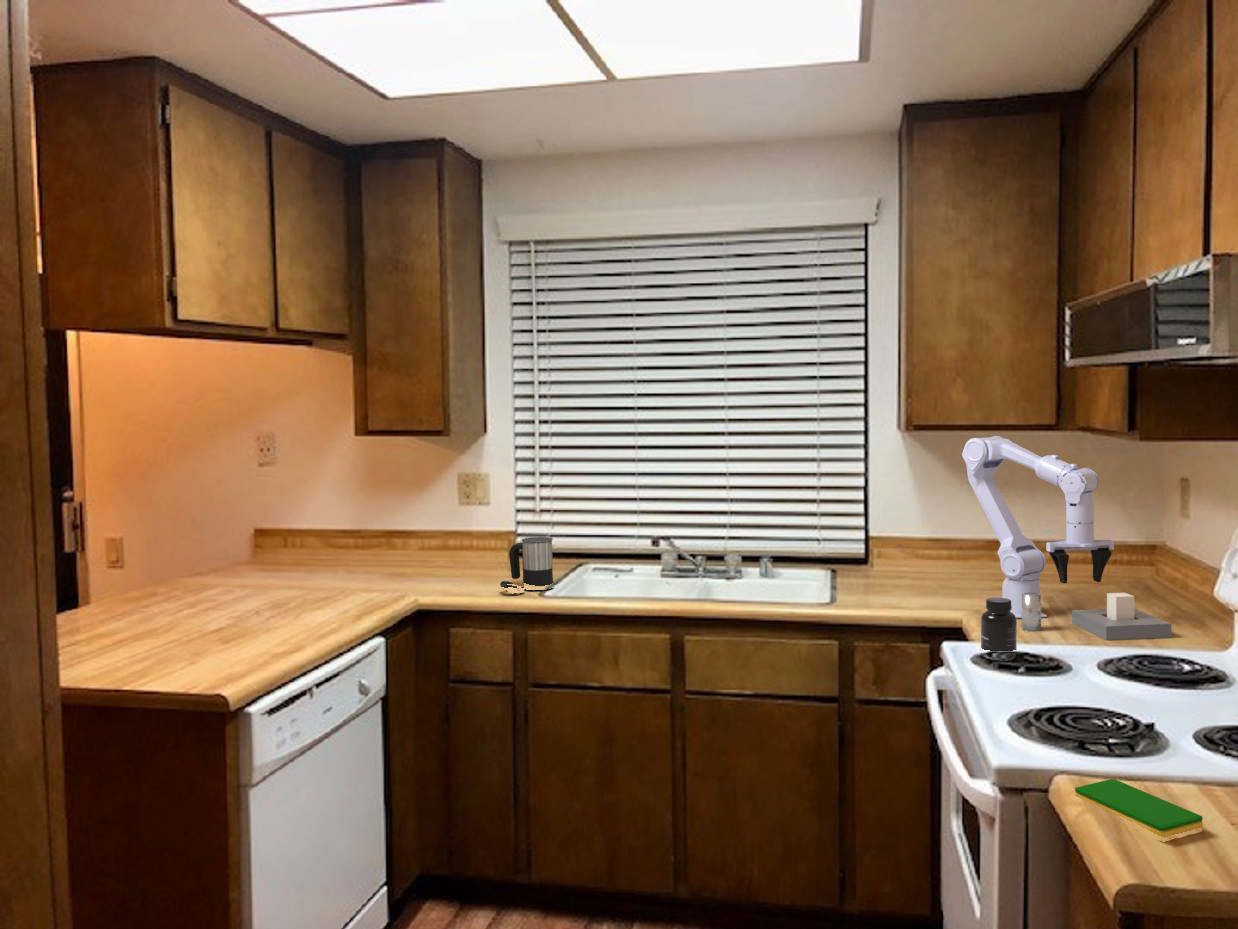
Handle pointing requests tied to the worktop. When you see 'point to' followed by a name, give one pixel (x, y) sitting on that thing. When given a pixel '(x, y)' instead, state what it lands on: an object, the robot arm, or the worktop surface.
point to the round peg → (1031, 611)
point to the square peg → (1120, 606)
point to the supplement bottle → (998, 626)
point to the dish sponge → (1140, 807)
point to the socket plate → (1121, 625)
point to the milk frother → (532, 561)
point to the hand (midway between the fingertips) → (1080, 582)
